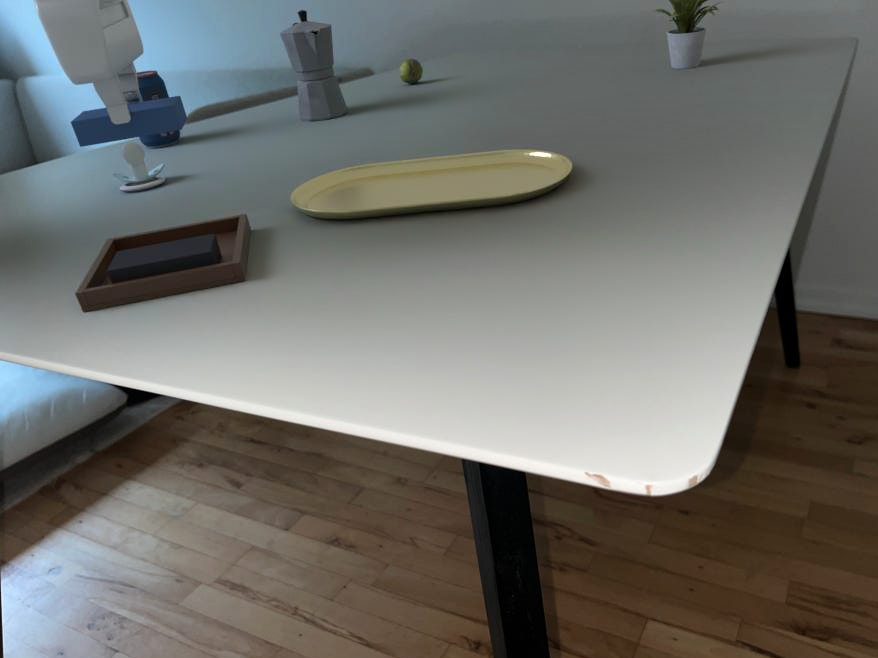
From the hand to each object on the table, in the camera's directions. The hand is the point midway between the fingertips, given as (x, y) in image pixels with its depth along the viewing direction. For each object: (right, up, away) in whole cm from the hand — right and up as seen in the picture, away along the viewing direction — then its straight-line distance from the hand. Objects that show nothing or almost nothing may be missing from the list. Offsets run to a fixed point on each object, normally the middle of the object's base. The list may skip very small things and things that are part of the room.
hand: (129, 115), depth 76 cm
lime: (+22, +33, +80) cm, 89 cm away
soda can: (-21, +14, +57) cm, 62 cm away
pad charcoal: (+4, -16, 0) cm, 17 cm away
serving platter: (+30, -4, +16) cm, 34 cm away
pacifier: (-14, 0, +33) cm, 36 cm away
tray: (+3, -15, +3) cm, 16 cm away
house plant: (+75, +30, +63) cm, 102 cm away
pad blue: (0, -1, +1) cm, 2 cm away
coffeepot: (+6, +21, +64) cm, 67 cm away
